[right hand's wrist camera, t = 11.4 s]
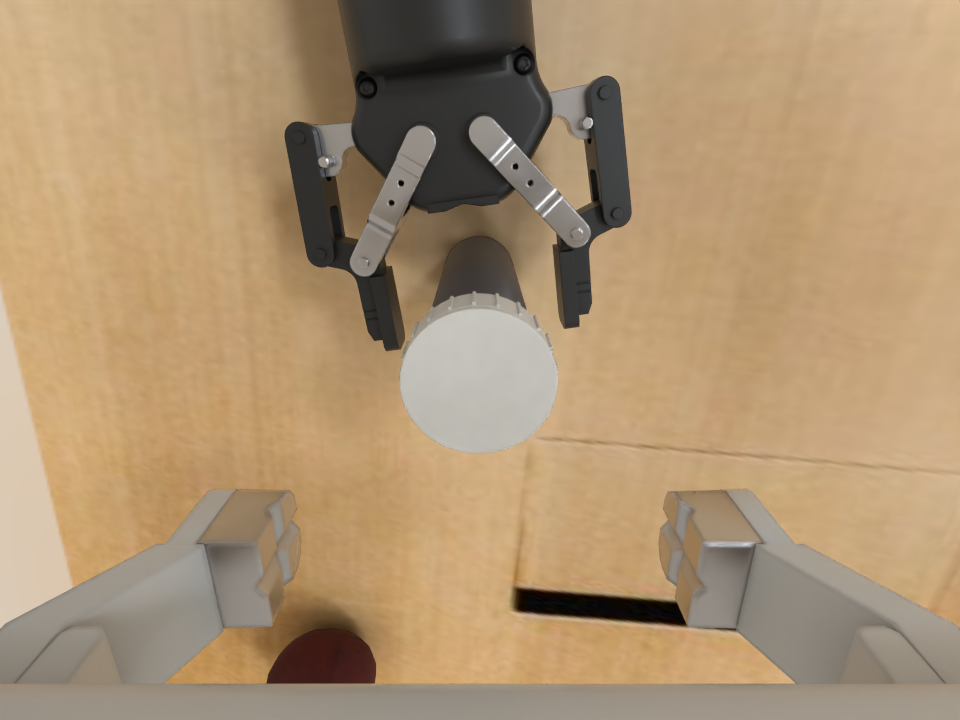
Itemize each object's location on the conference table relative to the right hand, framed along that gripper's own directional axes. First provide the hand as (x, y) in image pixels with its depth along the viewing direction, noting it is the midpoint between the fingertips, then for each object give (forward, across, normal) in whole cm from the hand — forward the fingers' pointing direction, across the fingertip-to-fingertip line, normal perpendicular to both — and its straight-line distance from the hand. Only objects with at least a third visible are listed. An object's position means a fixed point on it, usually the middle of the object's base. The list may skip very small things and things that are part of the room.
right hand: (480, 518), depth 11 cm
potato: (+23, -11, -29) cm, 39 cm away
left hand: (+16, 0, -2) cm, 16 cm away
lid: (+7, 0, 0) cm, 7 cm away
